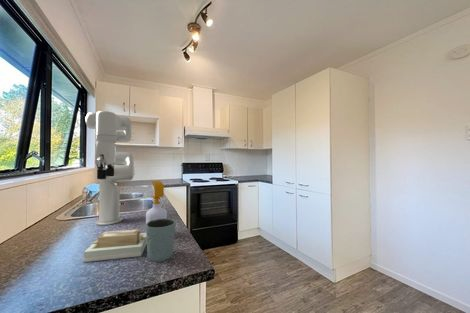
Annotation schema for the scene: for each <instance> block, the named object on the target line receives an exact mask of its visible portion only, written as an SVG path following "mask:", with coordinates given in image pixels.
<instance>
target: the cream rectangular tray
mask: <svg viewBox="0 0 470 313" xmlns="http://www.w3.org/2000/svg"><path fill="white" fill-rule="evenodd" d="M97 244H98V239H97V240H95V241H93V242H92V244H91V245H90V246H88V248H87V249H86V250H85V251H83V258H82V262H83V263H87V262H96V261H105V260H106V261H107V260H115V259H117V260H118V259H123V258H126V259H127V258H136V257H142V255H143V253H144V250H145V249H146V247H147V235H146V232H140V242H139V244H138V245H128V246H117V247H106V248H97Z"/></svg>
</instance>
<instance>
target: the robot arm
mask: <svg viewBox="0 0 470 313" xmlns="http://www.w3.org/2000/svg"><path fill="white" fill-rule="evenodd" d="M85 125H86V126H87V128H89V129H90V130H95V143H96V145H95V157H94V164H95V165H96V169H97V170H96V175H97V176H96V179H97V180H98V184H99V185H98V186H99V189H98V190H99V195H98V196H99V197H98V198H99V200H98V203H99V204H98V205H99V210H98V211H99V212H98V215H99V216H98V218H99V219H97V220H96V221H95V224H96V225H98V226H106V225H114V224H118V223H121V222H122V221H123V217H122V216H120V198H121V197H120V196H121V195H120V192H121V190H120V187H119V186H118V184H116V183H117V182H130V181H132V180H133V179H134V175H135V170H134V168H135V167H134V156H133V154H132V153H131V152H124V151H121V150H120V147H119V146H118V145H117V142H118V143H119V142H120V143H128V142H130V141H131V140H132V122H131V119H130V117H128V116H125V115H124V116H123V115H117V114H116V113H115V112H112V111H109V110H108V111H107V110H99V111H97V112H88V113H87V114H86V116H85Z"/></svg>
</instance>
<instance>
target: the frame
mask: <svg viewBox="0 0 470 313" xmlns="http://www.w3.org/2000/svg"><path fill="white" fill-rule="evenodd" d="M140 233H141V229H140V228H139V229H122V230H112V231H111V230H110V231H104V232H102V233H101V234H100V235H99V236H97V240H98V244H97V248H106V247H117V246H128V245H138V244H139V242H140Z"/></svg>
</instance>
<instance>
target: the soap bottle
mask: <svg viewBox="0 0 470 313" xmlns="http://www.w3.org/2000/svg"><path fill="white" fill-rule="evenodd" d="M150 183H151V184H152V185H153V186H154V194H153V195H150V197H151V198H153V200H154V201H153V202H152V207H151V208H150V209H149V210H147V211H146V214H145V224H146V223H147V222H149V221H152V220H155V219H162V218H168V212H167V209H165V208H163V206H162V204H161V201H159V200H161V198H163V197H164V193H165V192H164V190H165V185H164V183H163V182H162V181H161V180H153V181H151V182H150Z"/></svg>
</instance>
